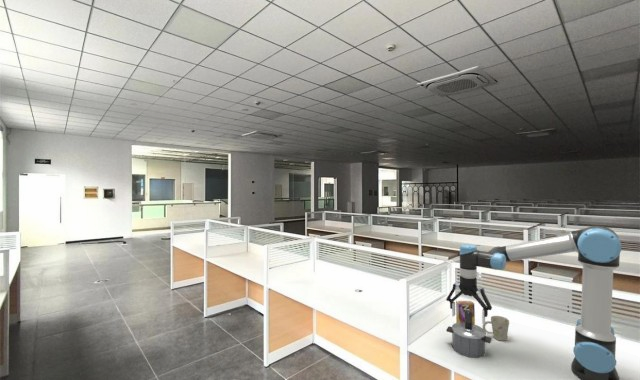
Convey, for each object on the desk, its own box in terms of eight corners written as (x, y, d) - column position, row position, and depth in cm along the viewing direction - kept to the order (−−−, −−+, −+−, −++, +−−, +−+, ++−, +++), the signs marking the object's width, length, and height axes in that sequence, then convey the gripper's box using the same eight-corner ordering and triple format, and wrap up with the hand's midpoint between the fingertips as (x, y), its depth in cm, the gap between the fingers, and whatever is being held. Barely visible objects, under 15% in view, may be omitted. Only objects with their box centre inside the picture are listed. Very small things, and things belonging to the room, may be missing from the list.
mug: (511, 342, 154) (511, 323, 154) (485, 340, 157) (485, 321, 156) (505, 334, 162) (505, 316, 162) (480, 332, 165) (480, 314, 164)
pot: (493, 349, 148) (493, 331, 148) (488, 363, 137) (488, 343, 136) (451, 337, 160) (451, 320, 160) (443, 349, 149) (443, 331, 149)
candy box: (472, 326, 171) (471, 300, 171) (475, 330, 167) (475, 303, 166) (455, 326, 172) (455, 300, 172) (458, 330, 168) (458, 303, 167)
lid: (488, 329, 149) (488, 310, 149) (482, 342, 138) (482, 321, 137) (456, 321, 159) (456, 303, 158) (448, 333, 147) (448, 312, 147)
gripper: (498, 279, 143) (498, 323, 143) (443, 270, 158) (444, 310, 159) (496, 283, 137) (496, 329, 137) (439, 273, 152) (440, 315, 153)
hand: (468, 319), depth 148 cm, fingers open, 13 cm apart
